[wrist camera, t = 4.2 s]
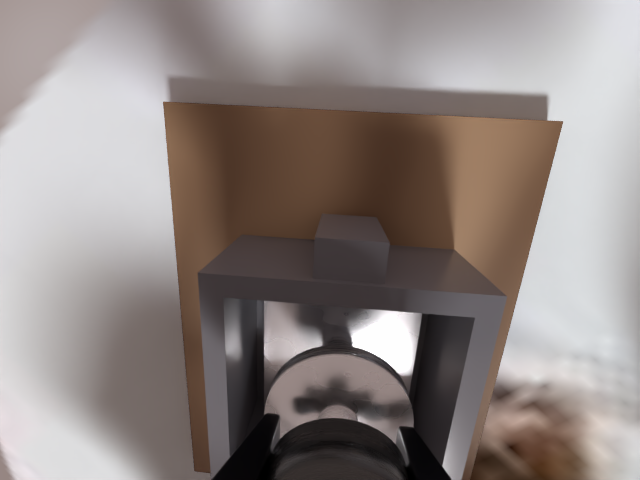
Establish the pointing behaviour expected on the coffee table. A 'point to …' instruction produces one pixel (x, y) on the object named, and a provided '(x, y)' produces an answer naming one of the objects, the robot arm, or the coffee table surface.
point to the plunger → (338, 390)
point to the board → (352, 197)
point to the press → (353, 292)
